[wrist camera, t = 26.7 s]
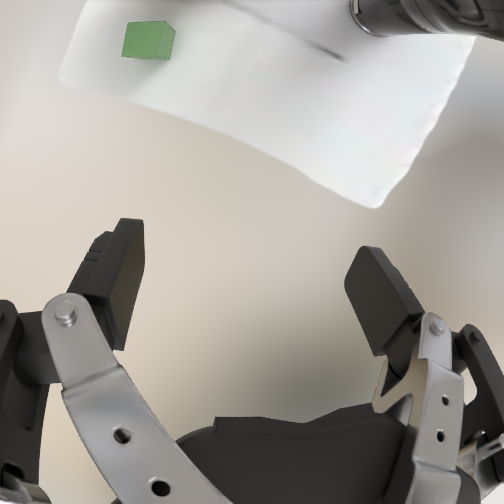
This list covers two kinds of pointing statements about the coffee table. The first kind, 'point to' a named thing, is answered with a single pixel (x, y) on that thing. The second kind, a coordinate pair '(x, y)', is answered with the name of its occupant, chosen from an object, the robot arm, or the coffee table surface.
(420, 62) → the coffee table surface
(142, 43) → the green block
